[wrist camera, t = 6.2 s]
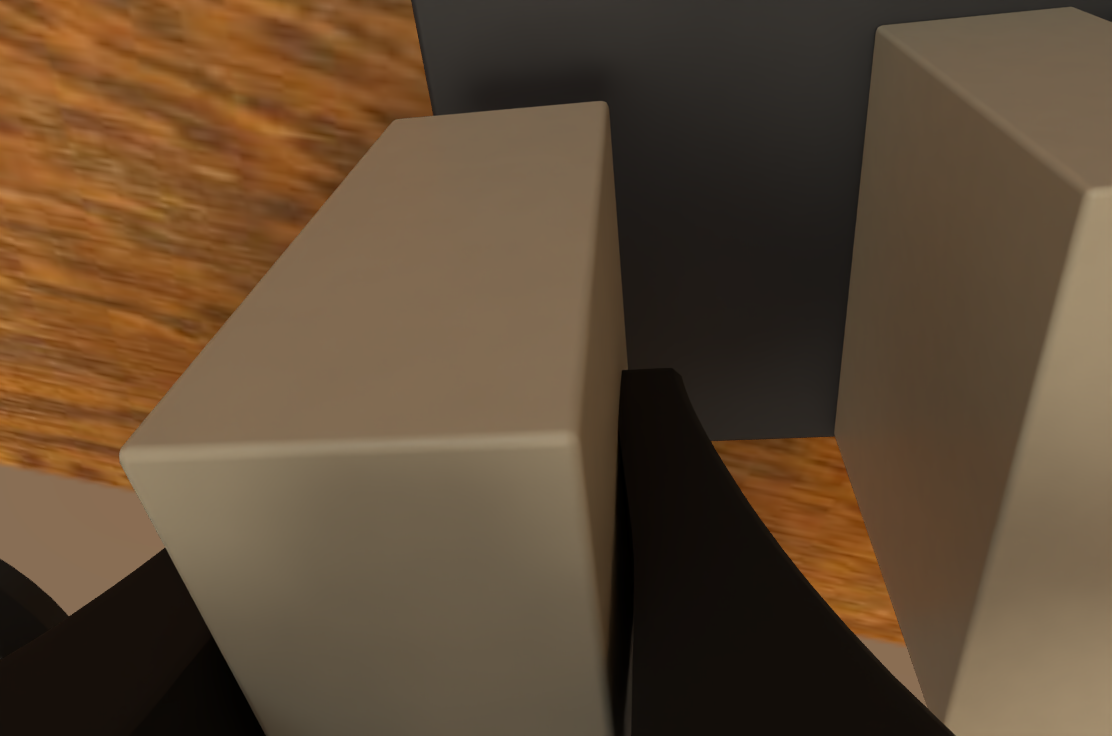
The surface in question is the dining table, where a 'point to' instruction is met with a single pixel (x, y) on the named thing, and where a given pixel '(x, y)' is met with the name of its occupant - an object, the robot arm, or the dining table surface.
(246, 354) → the taupe rectangular block
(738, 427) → the shelf board
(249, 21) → the dining table surface
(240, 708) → the robot arm
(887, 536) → the beige upright block
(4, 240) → the dining table surface
